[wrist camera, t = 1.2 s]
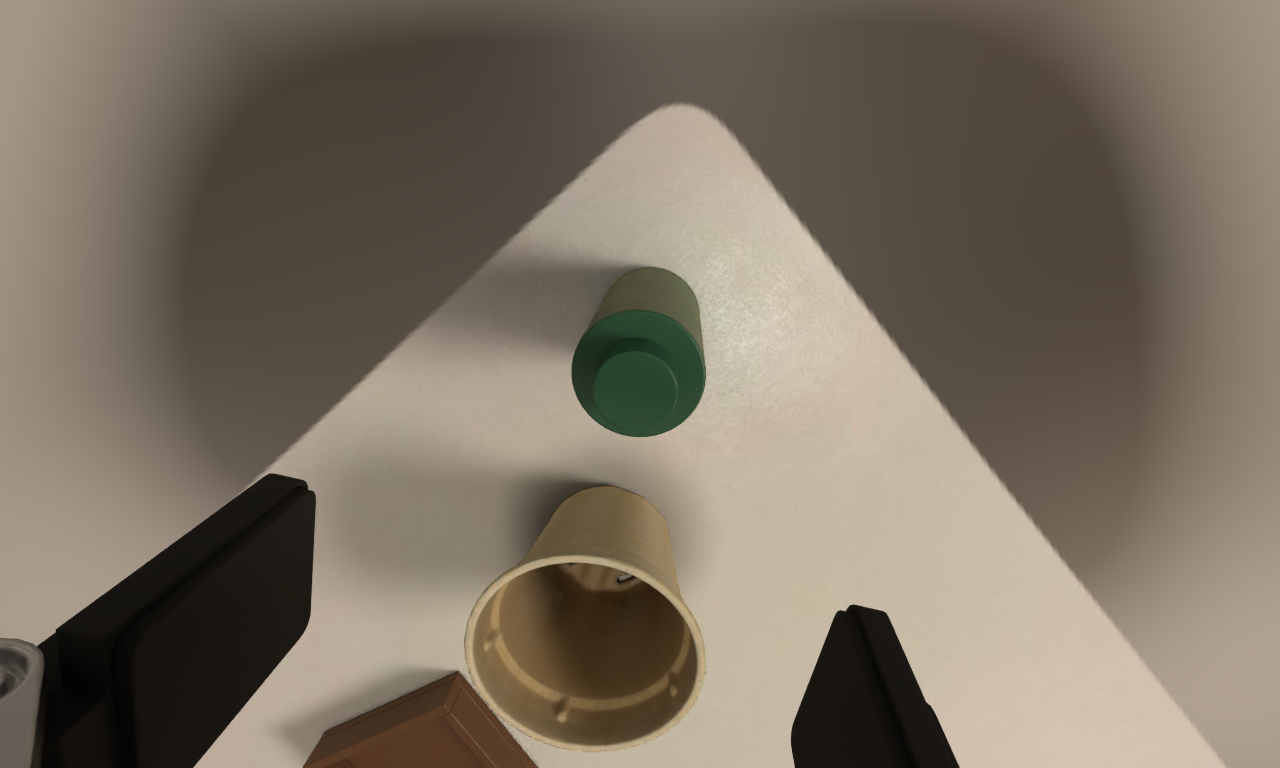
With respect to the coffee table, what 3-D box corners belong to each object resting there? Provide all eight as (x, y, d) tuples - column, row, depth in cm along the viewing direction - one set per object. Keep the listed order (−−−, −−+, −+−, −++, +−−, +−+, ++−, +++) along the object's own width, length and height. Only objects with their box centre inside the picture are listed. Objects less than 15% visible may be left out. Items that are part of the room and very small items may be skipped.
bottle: (583, 298, 29) (535, 365, 19) (668, 248, 28) (661, 294, 18) (633, 378, 30) (610, 480, 20) (717, 333, 29) (733, 418, 19)
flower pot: (481, 539, 33) (416, 662, 25) (596, 416, 31) (565, 509, 22) (617, 641, 35) (597, 788, 27) (738, 534, 32) (757, 660, 24)
